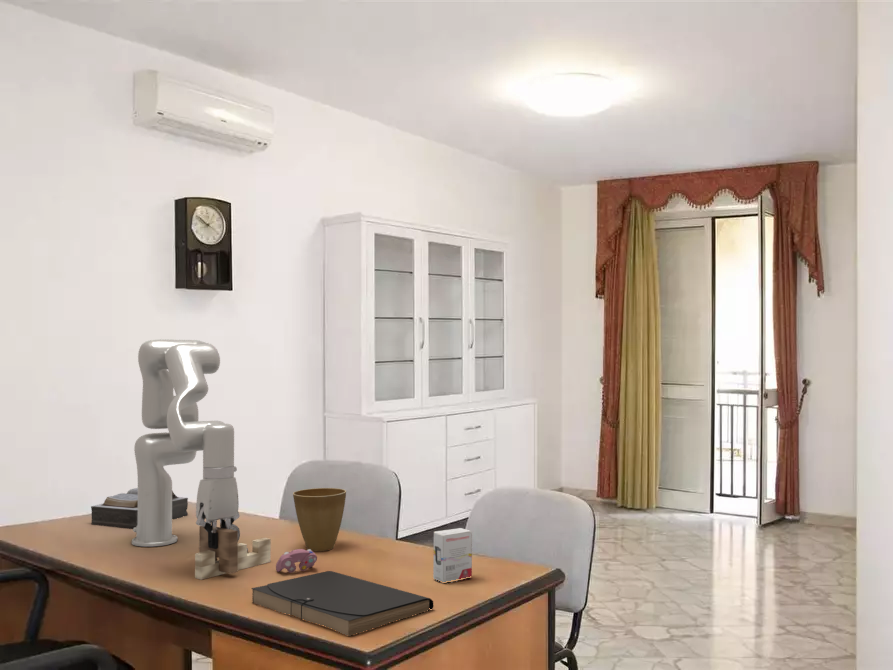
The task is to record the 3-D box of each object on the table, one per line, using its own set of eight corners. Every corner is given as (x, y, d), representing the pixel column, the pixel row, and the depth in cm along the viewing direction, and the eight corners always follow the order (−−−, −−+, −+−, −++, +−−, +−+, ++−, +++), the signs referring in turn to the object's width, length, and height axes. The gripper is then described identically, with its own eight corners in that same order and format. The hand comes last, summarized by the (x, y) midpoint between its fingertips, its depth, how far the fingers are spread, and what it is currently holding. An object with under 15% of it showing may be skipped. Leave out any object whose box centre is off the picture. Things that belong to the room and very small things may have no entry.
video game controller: (278, 580, 212) (282, 558, 209) (273, 568, 215) (277, 546, 213) (316, 575, 216) (320, 553, 214) (310, 564, 220) (315, 542, 217)
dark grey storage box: (197, 518, 284) (197, 489, 284) (126, 532, 262) (126, 500, 262) (153, 511, 297) (153, 482, 297) (82, 523, 275) (82, 493, 275)
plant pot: (340, 540, 249) (340, 486, 249) (350, 552, 235) (350, 494, 235) (289, 544, 244) (289, 488, 244) (296, 556, 230) (296, 497, 230)
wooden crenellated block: (201, 579, 207) (201, 554, 207) (195, 578, 208) (195, 553, 208) (270, 561, 224) (270, 538, 224) (264, 560, 226) (264, 537, 226)
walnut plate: (199, 566, 215) (199, 526, 215) (207, 564, 217) (207, 524, 217) (229, 573, 208) (229, 532, 208) (237, 571, 209) (237, 531, 210)
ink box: (461, 574, 211) (461, 527, 212) (473, 579, 207) (473, 530, 207) (432, 579, 207) (432, 531, 207) (443, 584, 202) (443, 534, 203)
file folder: (250, 586, 188) (335, 568, 205) (250, 605, 188) (335, 585, 205) (347, 618, 165) (433, 594, 183) (347, 640, 165) (433, 614, 183)
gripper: (234, 468, 221) (234, 539, 221) (182, 475, 208) (181, 551, 208) (253, 470, 217) (253, 543, 216) (201, 478, 204) (200, 555, 204)
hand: (218, 546), depth 212 cm, fingers closed on walnut plate, 2 cm apart
